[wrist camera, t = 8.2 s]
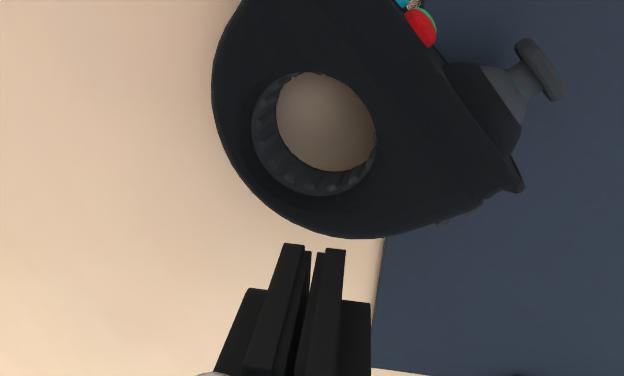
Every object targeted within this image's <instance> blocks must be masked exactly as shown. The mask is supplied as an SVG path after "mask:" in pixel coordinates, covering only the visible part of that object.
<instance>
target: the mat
mask: <svg viewBox="0 0 624 376" xmlns="http://www.w3.org/2000/svg"><path fill="white" fill-rule="evenodd" d="M421 8H422V9H423V10H425V11H426V12H428V13H429V14H430V16H431V17H432V18H433V20H434V23H435V25H436V29H437V32H436V41H435V42H434V44H433V45H434V46H435V47H436V48H437V49H438V51H439V52H440V53H441V54H442V56H443V57H444V59H445V60H446V61H447V63H448V64H450V63H457V62H470V63H478V64H479V66H493V67H497V68H500V69H503V70H505V69H508V68H510V67H511V66H513V65H515V64H516V63H518V62H519V61H520V59H519V57H518V56H517V54H516V52H515V50H514V46H515V44H516V43H517V42H519V41H520V40H522V39H523V38H531V39H532V40H533V41H534V42H535V43H536V44H537V45H538V46H539V47H540V48H541V50H542V51H543V52H544V53H545V55H546V56H547V57H548V59H549V60H550V61H551V63H552V64H553V66H554V67H555V69H556V70H557V72H558V73H559V75H560V77H561V78H562V80H563V82H564V84H565V85H566V88H567V94H566V96H565V97H564V98H563V99H561V100H559V101H557V102H551V101H550V100H549V99H548V98H547V97H546V96H545V95H544V93H543V92H542V91H541V92H540V93H538V94H536V95H535V96H533V97H532V98H530V99H528V100H527V101H526V112H525V117H524V119H523V121H522V123H521V127H522V130H521V134H520V138H519V140H518V142H517V144H516V146H515V148H514V150H513V152H512V153H511V156H512V157H513V159H514V161H515V163H516V165H517V167H518V169H519V172H520V174H521V176H522V178H523V180H524V184H525V189H524V191H523V192H521V193H519V194H515V193H511V192H507V191H503V190H502V191H500V192H498V193H497V194H495V195H494V196H492V197H491V198H489V199H487V200H486V199H485V200H484V201H483V205H481V206H479V210H478V212H477V213H476V214H475V215H474V216H471V217H470V216H465V215H464V214H462V215H459V216H456V217H453V218H451V222H450V224H449V225H448V227H447V228H445V229H438V228H437V227H436V226H435V224H431V225H428V226H425V227H422V228H419V229H416V230H413V231H410V232H406V233H403V234H399V235H395V236H389V237H385V242H384V248H383V255H382V261H381V268H380V274H379V281H378V287H377V294H376V300H375V307H374V313H373V320H372V326H371V367H372V368H379V369H386V370H394V371H401V372H408V373H415V374H422V375H429V376H624V0H422V2H421Z"/></svg>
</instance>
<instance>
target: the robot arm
mask: <svg viewBox="0 0 624 376" xmlns="http://www.w3.org/2000/svg"><path fill="white" fill-rule="evenodd" d="M311 255H312V252H311V251H305V246H304V245H299V244H290V243H284V245H283V247H282V250H281V253H280V256H279V259H278V262H277V265H276V268H275V271H274V274H273V276H272V279H271V282H270V285H269V288H268V290H263V289H255V288H249V289H248V290H247V292H246V293H245V296H244V298H243V301H242V303H241V305H240V308H239V310H238V313H237V315H236V317H235V320H234V322H233V325H232V327H231V329H230V332H229V334H228V337H227V339H226V341H225V344H224V346H223V349H222V351H221V353H220V356H219V358H218V361H217V363H216V365H215V368H214V370H213V372H208V373H202V374H199V375H197V376H371V308H370V303H364V302H356V301H348V300H342V288H343V277H344V266H345V255H346V250H341V249H333V248H326V250H325V253H321V252H318V253H317V257H316V262H315V267H314V272H313V277H312V282H311V287H310V271H311ZM309 287H310V292H309Z"/></svg>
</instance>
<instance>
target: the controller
mask: <svg viewBox="0 0 624 376" xmlns="http://www.w3.org/2000/svg"><path fill="white" fill-rule="evenodd" d="M409 1H410V0H242V1H241V3H240V5H239V6H238V8H237V10H236V11H235V13H234V14H233V16H232V18H231V19H230V21H229V22H228V24H227V26H226V27H225V30H224V32H223V34H222V36H221V39H220V41H219V43H218V47H217V50H216V54H215V57H214V60H213V68H212V79H211V102H212V108H213V114H214V119H215V123H216V127H217V131H218V134H219V137H220V140H221V143H222V145H223V148H224V150H225V152H226V154H227V156H228V158H229V160H230V162H231V164H232V166H233V167H234V169H235V170H236V172H237V174H238V175H239V177H240V178H241V179H242V181H243V182H244V183H245V184H246V185H247V187H248V188H249V189H250V190H251V191H252V193H253V194H255V195H256V196H257V197H258V198H259V199H260V200H261V201H262V202H263V203H264V204H265V205H266V206H268V207H269V208H270V209H272V210H273V211H274V212H276V213H277V214H279V215H280V216H282V217H284V218H285V219H287V220H289V221H290V222H292V223H294V224H296V225H299V226H301V227H304V228H306V229H308V230H311V231H313V232H316V233H320V234H324V235H327V236H331V237H337V238H344V239H376V238H383V237H389V236H395V235H399V234H403V233H406V232H410V231H413V230H416V229H419V228H422V227H425V226H428V225H431V224H435V226H436V227H437V228H438V229H445V228H447V227H448V225H449V224H450V222H451V218H453V217H456V216H459V215H462V214H464V215H465V216H470V217H471V216H474V215H475V214H476V213H477V212H478V210H479V206H481V205H483V201H484V200H485V199H486V200H487V199H489V198H491V197H492V196H494V195H495V194H497V193H498V192H500V191H502V190H503V191H507V192H511V193H515V194H519V193H521V192H523V191H524V189H525V184H524V180H523V178H522V176H521V174H520V172H519V169H518V167H517V165H516V163H515V161H514V159H513V157H512V156H511V153H512V152H513V150H514V148H515V146H516V144H517V142H518V140H519V138H520V134H521V130H522V127H521V123H522V121H523V119H524V117H525V112H526V101H527V100H528V99H530V98H532V97H533V96H535V95H536V94H538V93H540V92H541V91H542V92H543V93H544V95H545V96H546V97H547V98H548V99H549V100H550V101H551V102H557V101H559V100H561V99H563V98H564V97H565V96H566V94H567V88H566V85H565V84H564V82H563V80H562V78H561V77H560V75H559V73H558V72H557V70H556V69H555V67H554V66H553V64H552V63H551V61H550V60H549V59H548V57H547V56H546V55H545V53H544V52H543V51H542V50H541V48H540V47H539V46H538V45H537V44H536V43H535V42H534V41H533V40H532V39H531V38H523V39H522V40H520V41H519V42H517V43H516V44H515V46H514V50H515V52H516V54H517V56H518V57H519V59H520V61H519V62H518V63H516V64H515V65H513V66H511V67H510V68H508V69H505V70H503V69H500V68H497V67H493V66H479V64H478V63H470V62H457V63H450V64H448V63H447V61H446V60H445V59H444V57H443V56H442V54H441V53H440V52H439V51H438V49H437V48H436V47H435V46H434V45H433V44H434V42H435V41H436V32H437V29H436V25H435V23H434V20H433V18H432V17H431V16H430V14H429V13H428V12H426V11H425V10H423V9H422V8H419V7H414V8H412V9H410V10H408V9H407V8H406V7H405V6H406V5H408V3H409ZM303 72H314V73H316V74H318V75H322V74H324V75H327V76H330V77H333V78H335V79H337V80H339V81H341V82H342V83H344V84H345V85H346V86H348V87H349V88H351V89H352V90H353V91H354V92H355V93H356V94H357V95H358V97H359V98H360V99H361V100H362V101H363V103H364V104H365V106H366V109H367V110H368V111H369V113H370V115H371V117H372V120H373V123H374V126H375V134H374V139H375V142H376V144H377V146H376V147H374V149H373V150H372V152H371V154H370V156H369V159H368V160H367V161H365V162H364V163H363V164H361V165H359V166H357V167H355V168H353V169H351V170H347V171H341V172H330V171H323V170H319V169H316V168H312V167H311V166H309V165H307V164H305V163H304V162H302V161H300V160H299V159H298V158H297V157H296V156H295V155H293V154H292V153H291V152H290V150H289V149H288V148H287V146H286V145H285V144H284V142H283V140H282V138H281V136H280V134H279V130H278V127H277V121H276V104H277V100H278V97H279V94H280V91H281V89H282V87H283V85H284V84H285V83H287V82H289V81H290V80H291V78H292V77H296V76H298V75H300V74H301V73H303Z"/></svg>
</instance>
